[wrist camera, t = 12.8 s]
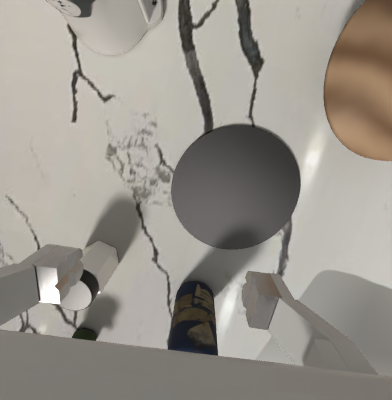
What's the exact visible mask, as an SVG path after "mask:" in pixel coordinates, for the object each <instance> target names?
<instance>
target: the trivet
mask: <svg viewBox="0 0 392 400" xmlns="http://www.w3.org/2000/svg"><path fill="white" fill-rule="evenodd" d="M299 191H300V177H299V171H298V167H297V164H296V162H295V160H294V157H293V155H292V154H291V152H290V151H289V149H288V148H287V147H286V146H285V145H284V144H283V143H282V142H281V141H280V140H279V139H278V138H276V137H275V136H273V135H272V134H270V133H268V132H266V131H264V130H261V129H258V128H254V127H250V126H229V127H223V128H220V129H217V130H214V131H212V132H210V133H208V134H206V135H204V136H202V137H201V138H199V139H198V140H197V141H196V142H194V143H193V144H192V145H191V146H190V147H189V148H188V149H187V150H186V152H185V153H184V154H183V156H182V157H181V159H180V161H179V163H178V165H177V166H176V169H175V172H174V175H173V180H172V189H171V193H172V202H173V207H174V209H175V212H176V215H177V217H178V219H179V221H180V222H181V223H182V225H183V226H184V228H185V229H186V230H187V231H188V232H189V233H190V234H191V235H193V236H194V237H195V238H197V239H198V240H200V241H201V242H203V243H205V244H208V245H210V246H213V247H217V248H222V249H242V248H247V247H251V246H254V245H257V244H260V243H262V242H264V241H266V240H267V239H269V238H270V237H272V236H273V235H275V234H276V233H277V232H278V231H279V230H280V229H281V228H282V227H283V226H284V225H285V224H286V222H287V221H288V220H289V218H290V217H291V215H292V213H293V212H294V209H295V207H296V204H297V201H298V197H299Z"/></svg>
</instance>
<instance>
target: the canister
mask: <svg viewBox="0 0 392 400" xmlns="http://www.w3.org/2000/svg"><path fill="white" fill-rule="evenodd" d="M168 350H175V351H183V352H191V353H200V354H208V355H216V356H218V348H217V334H216V319H215V308H214V297H213V293H212V291H211V289H210V288H209V287H208V286H207V285H205V284H203V283H200V282H188V283H186V284H184V285H182V286H181V287H180V288H179V290H178V291H177V294H176V299H175V305H174V311H173V317H172V325H171V331H170V337H169V343H168Z"/></svg>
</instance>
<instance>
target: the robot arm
mask: <svg viewBox="0 0 392 400" xmlns="http://www.w3.org/2000/svg"><path fill="white" fill-rule="evenodd" d="M46 1H47V2H48V3H50V4H51V5H52V6H54V7H55V8H56V9H58V11H59V12H60V13H61V14H62V16H63V17H64V18H65V20H66V21H67V22H68V24H69V25H70V27H71V29H72V30H73V32H74V33H75V35H76V36H77V37H78V38H79V39H80V40H81V42H82V43H84V44H85V45H86V46H87V47H89V48H90V49H92V50H94V51H96V52H98V53H101V54H105V55H118V54H122V53H125V52H127V51H129V50H130V49H132V48H133V47H134V46H135V45H136V44H137V43H138V42H139V41H140V40H141V38H142V37H143V35H144V34H145V32H146V31H147V30H148V29H150V28H152V27H154V26H155V25H157V24H158V23H159V22H160V21H161V20H162V19H163V0H46ZM153 2H157V4H156V5H155V6H154V5H153ZM82 257H83V251H82V250H81V249H80V248H73V247H67V246H59V245H53V244H47V245H45V246H44V247H42V248H41V249H39V250H38V251H36V252H35V253H33V254H32V255H31V256H29V257H28V258H26V259H25V260H23V261H22V262H20V263H19V264H12V265H8V266H5V267H2V268H0V326H1V325H2V324H4V323H6V322H7V321H9V320H11V319H13V318H14V317H16V316H18V315H19V314H21V313H23V312H24V311H26V310H28V309H30V308H31V307H33V306H35V305H36V304H38V303H39V302H48V303H59V304H60V303H61V302H62V300H63V299H64V298H65V297H66V296H67V295H68V293H69V292H70V287H72V286H74V285H76V284H77V283H78V281H79V280H80V278H81V276H82V274H83V263H82V262H81V261H80V259H81V258H82ZM245 278H246V281H247V283H245V284H244V285H243V289H242V302H243V306H244V307H245V308H246V309H247V310H246V318H247V321H248V325H249V327H251V328H258V329H264V330H268V332H269V333H270V334H271V336H272V337H273V338H274V339H275V341H276V342H277V343H278V344H279V345H280V347H281V348H282V349H283V350H284V352H285V353H286V354H287V355H288V356H289V358H290V359H291V360H292V361H293V363H294V364H295V365H291V364H283V363H274V362H266V361H258V360H249V359H241V358H232V357H224V356H216V355H208V354H200V353H191V352H183V351H175V350H167V349H158V348H150V347H141V346H133V345H125V344H116V343H108V342H100V341H91V340H83V339H75V338H66V337H58V336H50V335H41V334H33V333H24V332H16V331H8V330H0V400H392V377H391V376H382V375H378V373H377V372H376V371H375V369H374V368H373V367H372V366H371V364H370V363H369V362H368V360H367V359H366V357H365V356H364V355H363V353H362V352H361V351H360V349H359V348H358V347H357V345H356V344H355V343H354V342H353V341H352V340H350V339H349V338H347V337H346V336H345V335H343V334H342V333H341V332H339V331H338V330H337V329H336V328H334V327H333V326H332V325H330V324H329V323H328V322H326V321H325V320H324V319H322V318H321V317H319V316H318V315H317V314H315V313H314V312H313V311H312V310H310V309H309V308H308V307H306V306H305V305H303V304H302V303H301V302H300V301H298V300H294V298H293V296H292V295H291V293H290V291H289V290H288V288H287V286H286V285H285V283H284V281H283V280H282V278H281V276H280V275H279V274H272V273H260V272H252V271H248V272H247V274H246V277H245Z"/></svg>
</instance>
